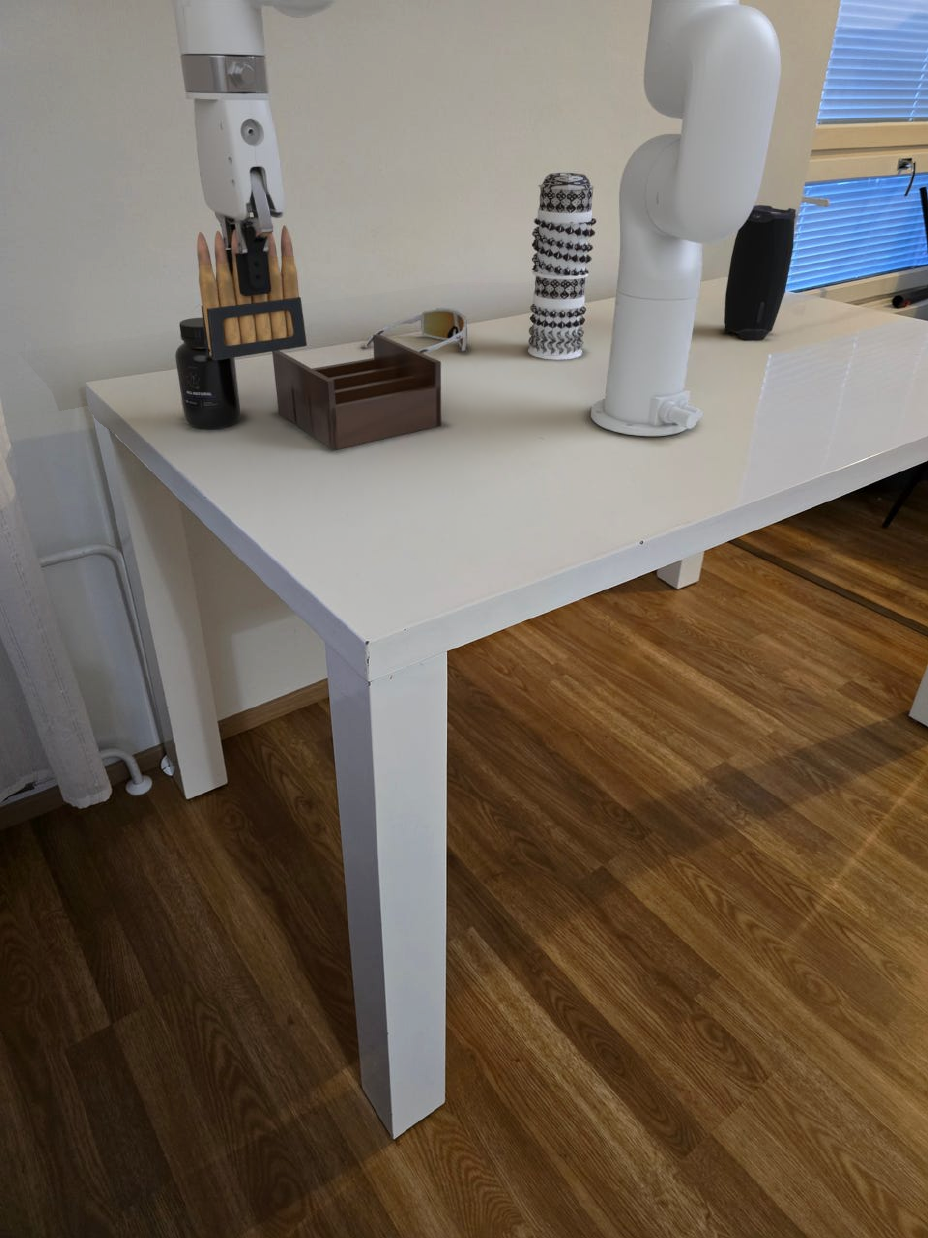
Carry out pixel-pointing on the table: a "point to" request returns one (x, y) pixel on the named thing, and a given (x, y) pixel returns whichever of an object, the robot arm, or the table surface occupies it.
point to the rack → (361, 395)
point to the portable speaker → (759, 272)
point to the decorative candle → (561, 266)
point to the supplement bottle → (205, 381)
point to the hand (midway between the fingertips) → (251, 290)
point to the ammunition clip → (249, 303)
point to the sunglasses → (436, 327)
